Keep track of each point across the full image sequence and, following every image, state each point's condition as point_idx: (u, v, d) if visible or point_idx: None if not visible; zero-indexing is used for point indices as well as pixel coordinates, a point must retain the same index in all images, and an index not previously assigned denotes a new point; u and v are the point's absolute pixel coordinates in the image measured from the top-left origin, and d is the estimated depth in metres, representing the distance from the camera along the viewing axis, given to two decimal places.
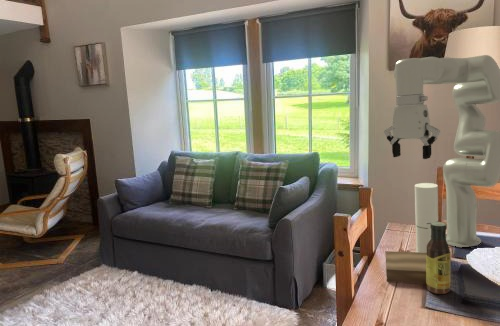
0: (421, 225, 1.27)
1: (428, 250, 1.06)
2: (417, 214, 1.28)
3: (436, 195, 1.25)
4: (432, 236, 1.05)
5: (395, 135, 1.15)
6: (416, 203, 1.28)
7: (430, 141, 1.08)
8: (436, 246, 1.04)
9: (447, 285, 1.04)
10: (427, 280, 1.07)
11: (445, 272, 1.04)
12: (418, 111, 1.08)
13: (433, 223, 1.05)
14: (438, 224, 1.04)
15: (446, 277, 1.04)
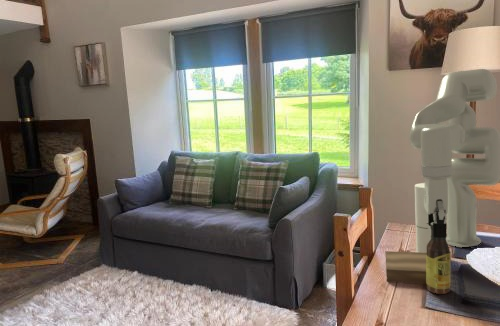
0: (421, 225, 1.27)
1: (428, 250, 1.06)
2: (417, 214, 1.28)
3: None
4: (432, 236, 1.05)
5: None
6: (416, 203, 1.28)
7: None
8: (436, 246, 1.04)
9: (447, 285, 1.04)
10: (427, 280, 1.07)
11: (445, 273, 1.04)
12: None
13: None
14: None
15: (446, 277, 1.04)
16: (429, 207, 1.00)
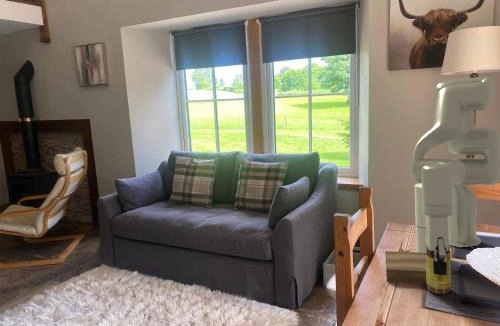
0: (421, 225, 1.27)
1: (428, 250, 1.06)
2: (417, 214, 1.28)
3: None
4: None
5: (448, 247, 1.01)
6: (416, 203, 1.28)
7: None
8: None
9: (447, 285, 1.04)
10: (427, 280, 1.07)
11: None
12: None
13: None
14: None
15: (446, 277, 1.04)
16: (430, 244, 1.01)
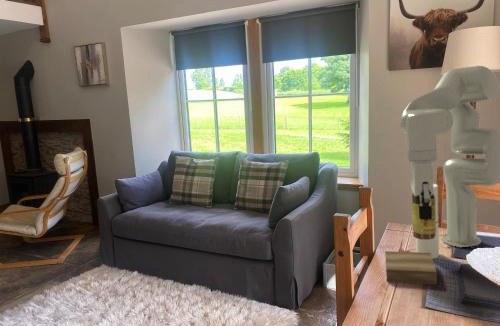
0: None
1: (414, 197, 1.09)
2: None
3: (436, 195, 1.25)
4: None
5: (432, 192, 1.04)
6: None
7: None
8: None
9: (432, 230, 1.07)
10: (413, 227, 1.10)
11: None
12: None
13: None
14: None
15: (431, 222, 1.07)
16: (415, 189, 1.05)
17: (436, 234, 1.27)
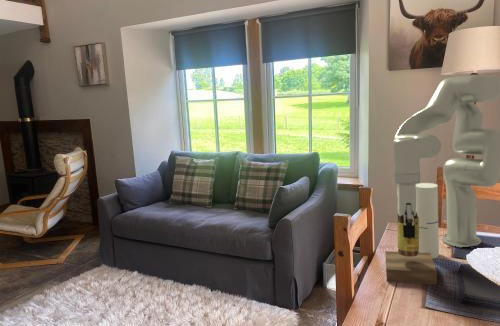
0: (421, 225, 1.27)
1: (398, 216, 1.16)
2: (417, 214, 1.28)
3: (436, 195, 1.25)
4: None
5: (415, 213, 1.12)
6: (416, 203, 1.28)
7: None
8: None
9: (415, 248, 1.14)
10: (398, 245, 1.17)
11: None
12: None
13: None
14: None
15: (415, 240, 1.14)
16: (400, 210, 1.12)
17: (436, 234, 1.27)
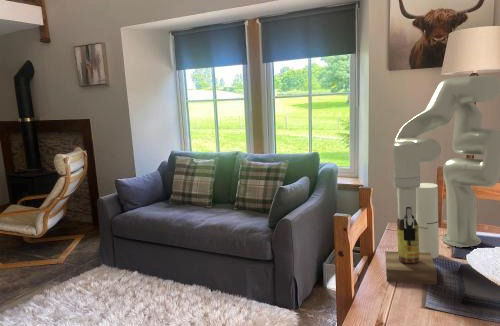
0: (421, 225, 1.27)
1: (398, 224, 1.17)
2: (417, 214, 1.28)
3: (436, 195, 1.25)
4: None
5: (415, 217, 1.12)
6: (416, 203, 1.28)
7: None
8: None
9: (416, 255, 1.15)
10: (398, 251, 1.18)
11: (414, 243, 1.15)
12: None
13: None
14: None
15: (415, 247, 1.15)
16: (400, 214, 1.12)
17: (436, 234, 1.27)
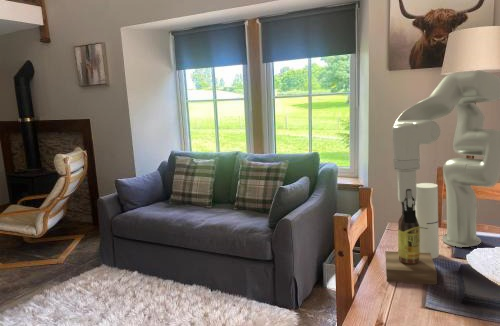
0: (421, 225, 1.27)
1: (399, 224, 1.17)
2: (417, 214, 1.28)
3: (436, 195, 1.25)
4: (402, 211, 1.16)
5: None
6: (416, 203, 1.28)
7: None
8: None
9: (416, 256, 1.15)
10: (399, 252, 1.18)
11: (414, 244, 1.15)
12: None
13: None
14: None
15: (415, 248, 1.15)
16: (400, 196, 1.12)
17: (436, 234, 1.27)
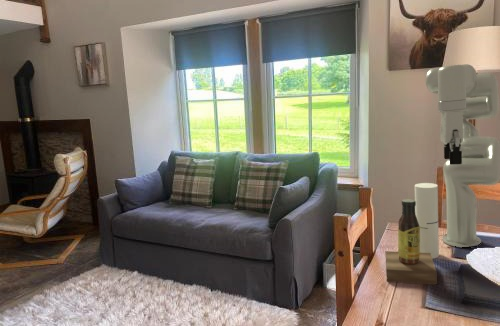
0: (421, 225, 1.27)
1: (399, 224, 1.17)
2: (417, 214, 1.28)
3: (436, 195, 1.25)
4: (403, 212, 1.16)
5: None
6: (416, 203, 1.28)
7: None
8: (406, 220, 1.15)
9: (416, 256, 1.15)
10: (399, 252, 1.18)
11: (415, 244, 1.15)
12: None
13: (404, 200, 1.16)
14: (408, 201, 1.15)
15: (415, 248, 1.15)
16: (446, 137, 1.12)
17: (436, 234, 1.27)
